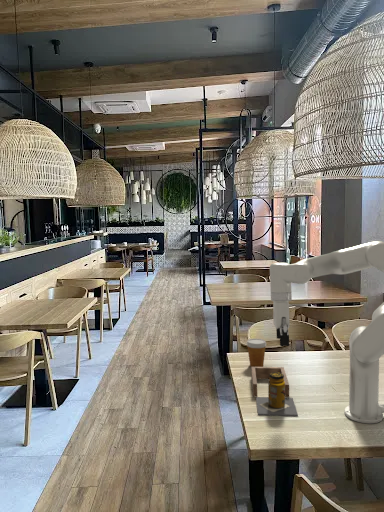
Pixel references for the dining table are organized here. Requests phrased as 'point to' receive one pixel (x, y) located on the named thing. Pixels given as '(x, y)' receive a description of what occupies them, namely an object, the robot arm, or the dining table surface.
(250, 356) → the disposable coffee cup
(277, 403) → the condiment
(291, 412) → the mat
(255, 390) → the frame
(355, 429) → the dining table surface
